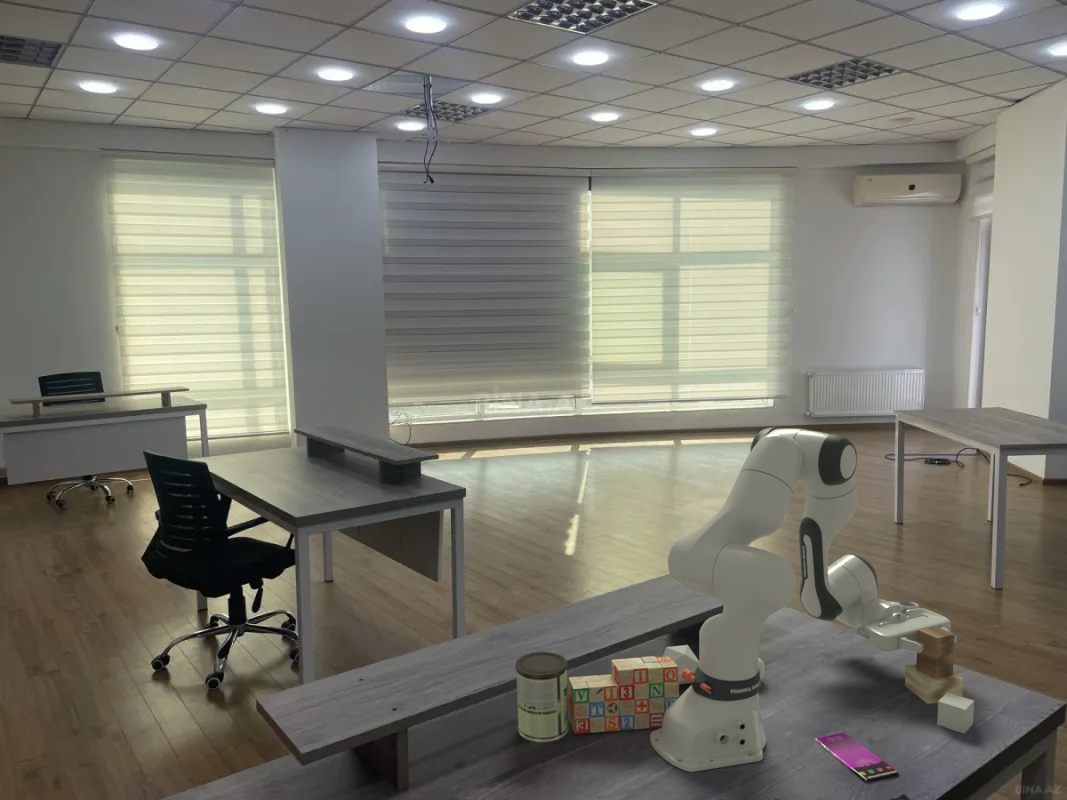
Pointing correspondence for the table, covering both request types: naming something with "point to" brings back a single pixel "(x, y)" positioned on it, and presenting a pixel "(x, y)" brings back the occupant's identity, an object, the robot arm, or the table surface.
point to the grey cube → (955, 712)
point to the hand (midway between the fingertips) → (938, 644)
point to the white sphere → (761, 667)
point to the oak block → (932, 685)
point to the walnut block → (936, 652)
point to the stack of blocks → (624, 695)
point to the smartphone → (856, 757)
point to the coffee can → (542, 696)
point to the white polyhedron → (682, 660)
